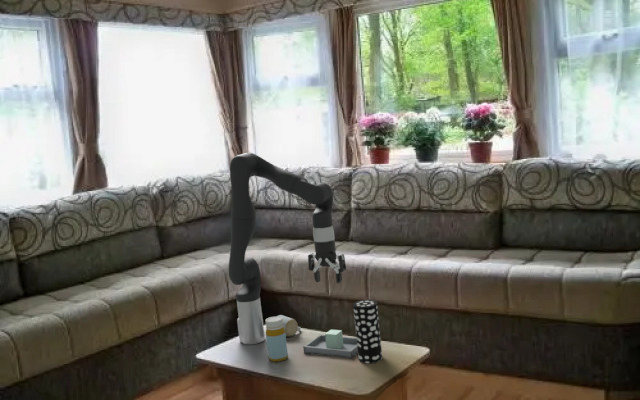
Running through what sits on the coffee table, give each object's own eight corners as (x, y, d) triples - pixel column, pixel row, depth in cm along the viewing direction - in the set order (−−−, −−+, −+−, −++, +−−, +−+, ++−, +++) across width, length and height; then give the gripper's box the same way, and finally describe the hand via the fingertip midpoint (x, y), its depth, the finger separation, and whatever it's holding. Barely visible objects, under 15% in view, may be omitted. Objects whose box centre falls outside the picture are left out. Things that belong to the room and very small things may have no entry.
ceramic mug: (287, 339, 256) (285, 320, 255) (272, 336, 262) (271, 317, 261) (305, 331, 264) (304, 313, 263) (291, 328, 269) (289, 310, 268)
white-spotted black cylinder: (355, 362, 226) (350, 307, 223) (362, 353, 234) (356, 299, 231) (379, 363, 223) (373, 307, 220) (384, 354, 231) (379, 299, 228)
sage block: (326, 349, 240) (325, 333, 239) (332, 344, 244) (331, 329, 243) (337, 350, 237) (336, 334, 237) (343, 345, 241) (341, 330, 240)
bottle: (278, 363, 232) (273, 323, 230) (265, 360, 237) (260, 320, 235) (292, 356, 238) (287, 317, 235) (278, 353, 242) (273, 314, 240)
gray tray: (304, 353, 240) (303, 346, 240) (320, 340, 251) (319, 334, 250) (351, 358, 230) (350, 351, 230) (366, 345, 241) (365, 338, 241)
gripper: (302, 240, 235) (306, 284, 238) (336, 241, 228) (341, 286, 231) (312, 236, 242) (316, 278, 244) (346, 236, 235) (350, 280, 237)
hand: (328, 282), depth 237 cm, fingers open, 8 cm apart
